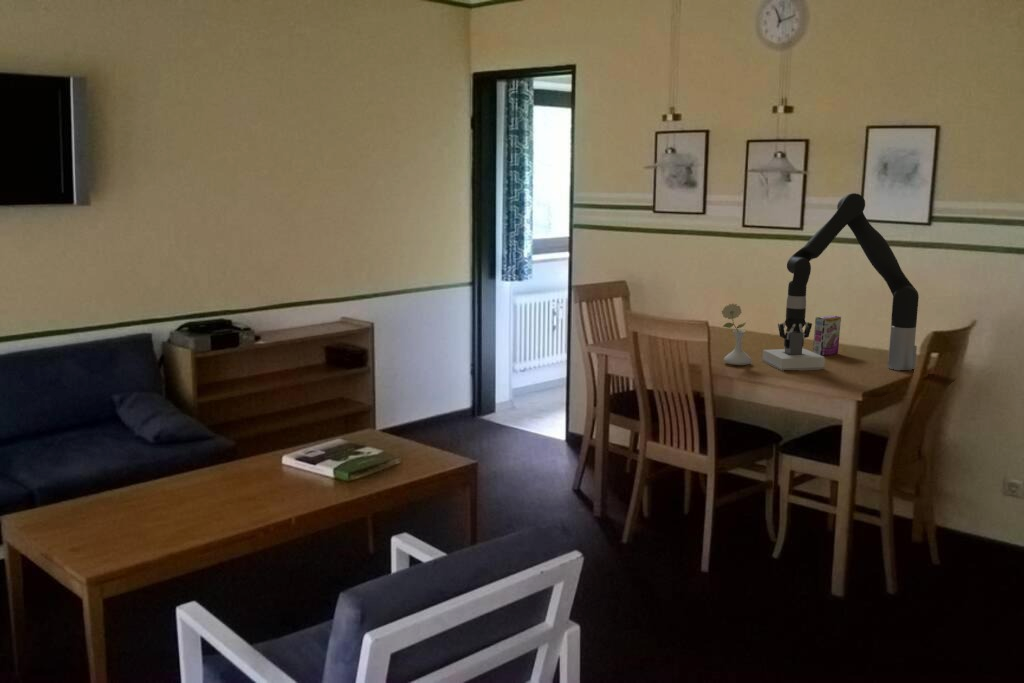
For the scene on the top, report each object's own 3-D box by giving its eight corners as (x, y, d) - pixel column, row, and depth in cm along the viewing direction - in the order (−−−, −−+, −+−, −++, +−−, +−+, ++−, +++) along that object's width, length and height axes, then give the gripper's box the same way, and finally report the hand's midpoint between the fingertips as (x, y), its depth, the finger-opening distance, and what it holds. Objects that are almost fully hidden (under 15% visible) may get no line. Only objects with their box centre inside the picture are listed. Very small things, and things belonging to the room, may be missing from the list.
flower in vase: (753, 362, 386) (756, 302, 382) (750, 368, 376) (753, 306, 371) (721, 360, 391) (723, 301, 386) (717, 365, 380) (720, 305, 375)
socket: (803, 360, 391) (804, 348, 390) (824, 369, 373) (824, 357, 372) (762, 361, 388) (763, 349, 387) (781, 371, 371) (782, 358, 370)
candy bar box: (821, 356, 398) (824, 318, 395) (812, 354, 402) (814, 317, 399) (839, 353, 404) (841, 316, 401) (829, 351, 408) (832, 314, 405)
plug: (796, 352, 383) (797, 330, 381) (801, 354, 378) (803, 332, 376) (784, 352, 382) (786, 330, 380) (790, 355, 377) (791, 333, 375)
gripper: (808, 304, 381) (806, 345, 384) (775, 305, 379) (772, 346, 382) (817, 307, 374) (814, 349, 377) (783, 308, 372) (780, 350, 375)
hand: (793, 347), depth 380 cm, fingers closed on plug, 5 cm apart
